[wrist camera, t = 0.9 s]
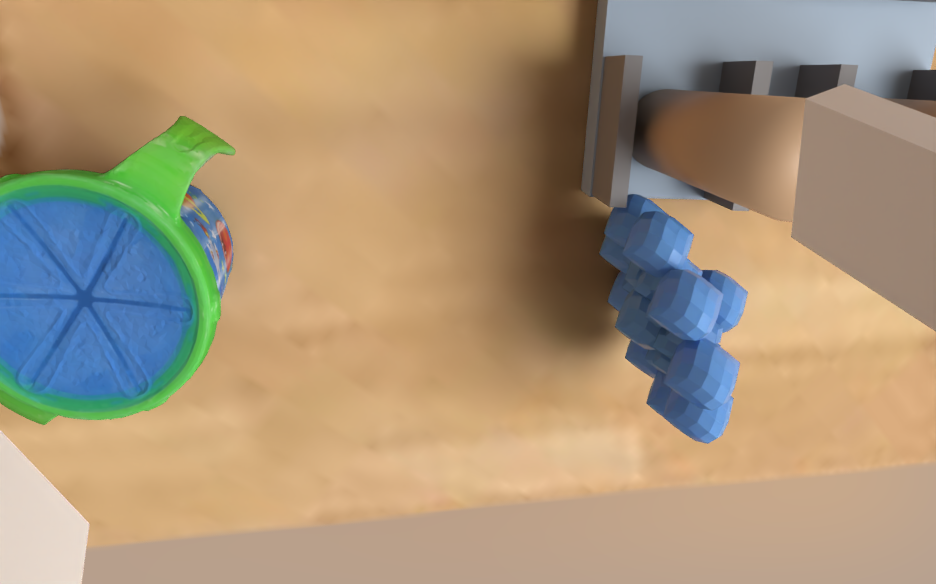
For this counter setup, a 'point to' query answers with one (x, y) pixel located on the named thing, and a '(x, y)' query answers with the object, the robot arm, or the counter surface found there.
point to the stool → (737, 90)
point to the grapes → (673, 317)
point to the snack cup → (110, 280)
